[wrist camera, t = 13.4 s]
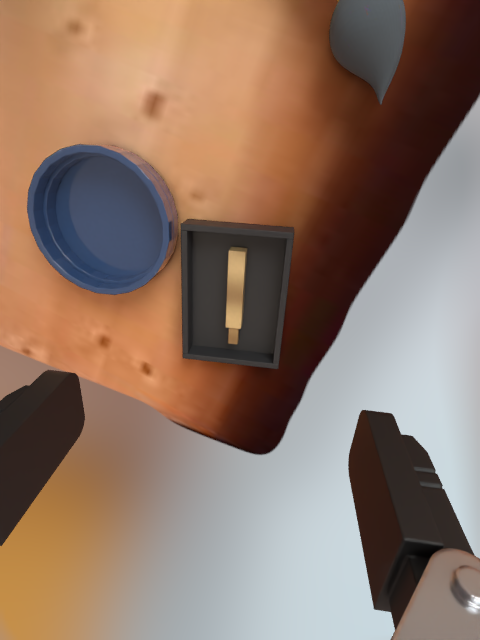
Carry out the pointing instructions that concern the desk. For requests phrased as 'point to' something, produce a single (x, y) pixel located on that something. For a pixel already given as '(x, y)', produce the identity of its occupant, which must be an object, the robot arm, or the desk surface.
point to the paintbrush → (369, 39)
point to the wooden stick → (235, 292)
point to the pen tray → (211, 291)
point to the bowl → (102, 217)
